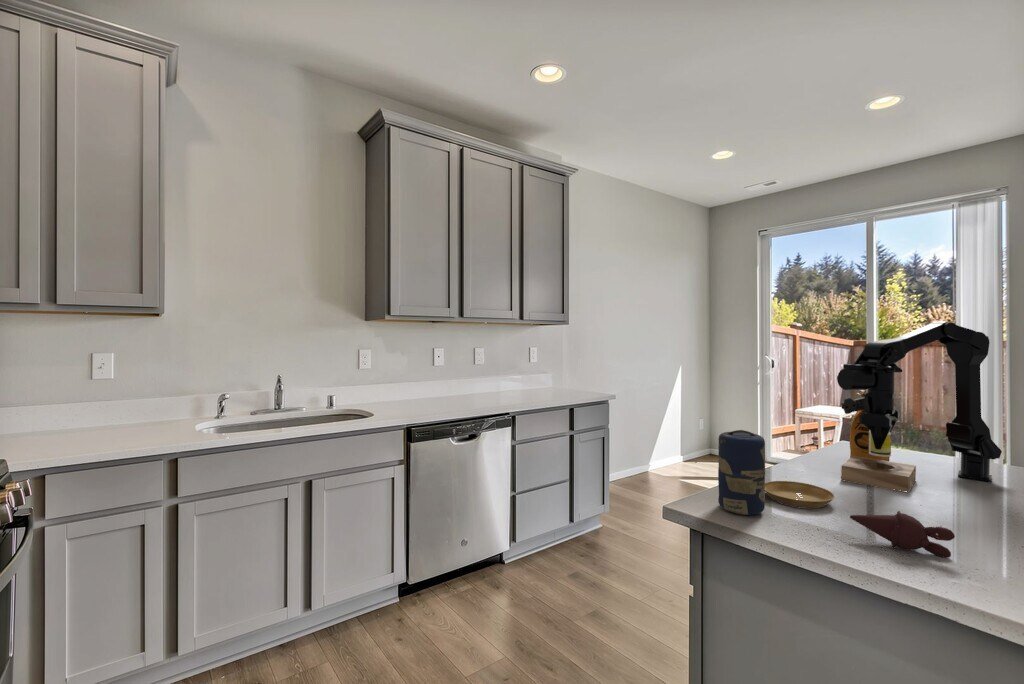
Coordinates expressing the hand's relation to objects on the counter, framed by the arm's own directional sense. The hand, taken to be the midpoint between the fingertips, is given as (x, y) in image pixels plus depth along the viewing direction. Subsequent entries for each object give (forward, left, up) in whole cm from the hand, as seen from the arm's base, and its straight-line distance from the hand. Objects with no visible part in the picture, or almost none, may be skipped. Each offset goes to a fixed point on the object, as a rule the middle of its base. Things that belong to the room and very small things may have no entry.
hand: (879, 447), depth 129 cm
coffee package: (-18, -5, -9) cm, 21 cm away
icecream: (+47, +10, -9) cm, 49 cm away
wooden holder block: (0, 0, -9) cm, 9 cm away
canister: (+48, -18, -9) cm, 52 cm away
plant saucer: (+32, -11, -9) cm, 35 cm away
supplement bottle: (0, 0, -2) cm, 2 cm away
